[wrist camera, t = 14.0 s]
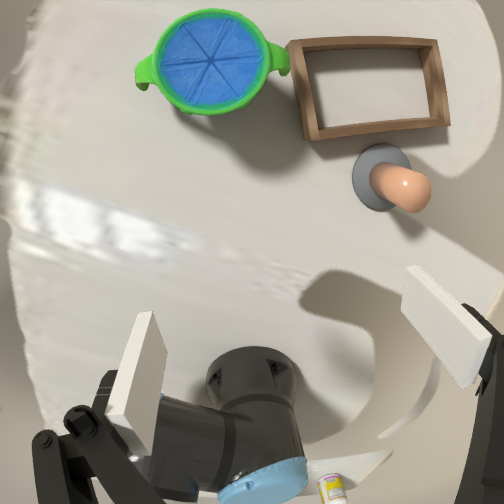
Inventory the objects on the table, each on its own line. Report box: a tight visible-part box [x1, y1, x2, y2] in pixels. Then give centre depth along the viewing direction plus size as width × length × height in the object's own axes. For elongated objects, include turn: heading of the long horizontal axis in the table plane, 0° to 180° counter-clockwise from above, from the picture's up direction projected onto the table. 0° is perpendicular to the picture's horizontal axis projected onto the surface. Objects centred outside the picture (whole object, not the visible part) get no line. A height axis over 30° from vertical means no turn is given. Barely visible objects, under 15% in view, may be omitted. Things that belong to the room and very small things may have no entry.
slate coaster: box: [352, 144, 411, 210], centre depth 40 cm, size 9×9×1 cm
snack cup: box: [135, 8, 291, 116], centre depth 29 cm, size 16×10×10 cm
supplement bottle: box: [318, 474, 347, 504], centre depth 66 cm, size 7×7×13 cm
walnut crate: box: [285, 36, 451, 141], centre depth 33 cm, size 12×20×4 cm, turn 102°
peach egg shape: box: [369, 161, 431, 213], centre depth 36 cm, size 5×5×8 cm
